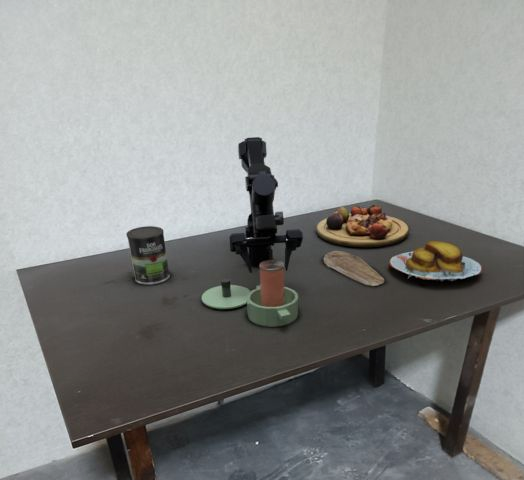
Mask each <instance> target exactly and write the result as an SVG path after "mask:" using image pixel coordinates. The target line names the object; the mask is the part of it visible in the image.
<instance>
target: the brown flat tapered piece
mask: <svg viewBox="0 0 524 480" xmlns="http://www.w3.org/2000/svg"><path fill="white" fill-rule="evenodd" d="M323 264H325V266H327V267H328V268H330V269H333V270H335V271H336V272H338V273H340V274H342V275H344V276H346V277H348V278H350V279H352V280H354V281H355V282H358V283H360V284H363V285H364V286H369V287H370V286H371V287H375V286H379V285H382V284H384V283H385V278H384V277H383V276H381V275H380V274H379V273H378V272H377V271H376V270H375V269H374V268H372V267H371V266H370V265H369V264H368V263H367V262H366V261H365V260H363V259H362V258H361V257H360V256H358V255H354V254H352V253H350V252H346V251H341V250H333V251H330V252H327V253H326V254H325V255H324V256H323Z"/></svg>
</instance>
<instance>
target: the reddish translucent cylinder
mask: <svg viewBox="0 0 524 480" xmlns="http://www.w3.org/2000/svg"><path fill="white" fill-rule="evenodd" d="M258 268H259V282H260V283H259V285H260V288H261V306H264V307H278V306H283V305H284V287H285V262H283V261H281V260H278V259H274V260H267V261H263V262H261V263H260V264H259V267H258Z"/></svg>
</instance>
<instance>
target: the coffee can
mask: <svg viewBox="0 0 524 480" xmlns="http://www.w3.org/2000/svg"><path fill="white" fill-rule="evenodd" d="M126 238H127V241H128V247H129V253H130V258H131V262H132V268H133V275H134V280H135V282H136V283H138V284H140V285H145V286H148V285H150V286H152V285H158V284H161V283H163V282H166V281H168V280H169V278H170V277H171V275H170V269H169V264H168V263H169V262H168V256H167V249H166V241H165V232H164V229H163V228H162V227H161V226H153V225H148V226H147V225H146V226H139V227H135V228H132V229H130V230H128V231H126Z"/></svg>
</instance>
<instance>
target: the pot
mask: <svg viewBox="0 0 524 480" xmlns="http://www.w3.org/2000/svg"><path fill="white" fill-rule="evenodd" d="M255 287H256V288H255V289H252V290H250V291H251V292H250V293H249V294H248V295H247V304H246V308H247V312H246V313H247V317H248V320H249V321H251V322H252V323H253V324H256V325H258V326H262V327H276V328H277V327H283V326H286V325H289V324H291V323H293V322H294V321H296V319H297V318H298V316H299V294H298V292H296V291H295V290H294V289H293V288H290V287H287V286H284V305H283V306H278V307H264V306H261V288H260V284H258V285H256V286H255Z"/></svg>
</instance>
